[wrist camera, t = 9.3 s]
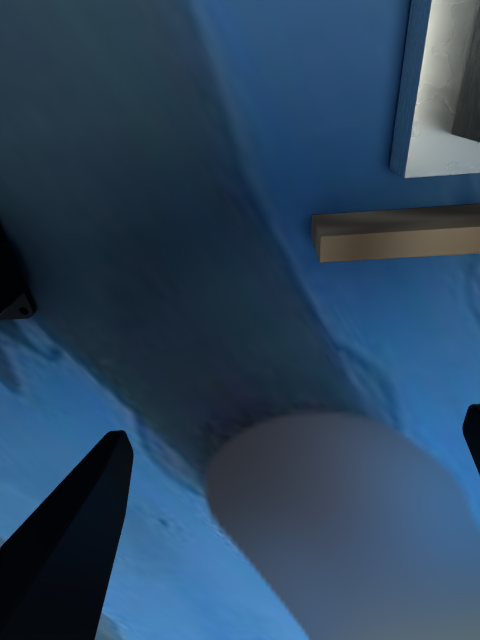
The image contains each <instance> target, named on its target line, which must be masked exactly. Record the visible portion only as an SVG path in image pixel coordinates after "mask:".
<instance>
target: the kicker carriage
mask: <svg viewBox="0 0 480 640" xmlns="http://www.w3.org/2000/svg"><path fill="white" fill-rule="evenodd" d="M389 168H390V169H391V170H393V171H394V172H396V173H397V174H399V175H400V176H402V177H403V178H413V177H427V176H441V175H455V174H469V173H480V0H412V1H411V8H410V16H409V24H408V31H407V39H406V46H405V54H404V61H403V69H402V76H401V84H400V92H399V99H398V107H397V114H396V122H395V129H394V137H393V145H392V152H391V160H390V167H389Z"/></svg>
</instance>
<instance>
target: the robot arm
mask: <svg viewBox="0 0 480 640" xmlns="http://www.w3.org/2000/svg"><path fill="white" fill-rule="evenodd" d="M23 307H24V308H26V309H27V310H28V311H26V310H25V309H24V308H23ZM35 312H36V306H35V304H34V302H33V300H32V297H31V295H30V293H29V290H28V288H27V284H26V282H25V280H24V277H23V275H22V273H21V271H20V268H19V266H18V264H17V261H16V259H15V257H14V255H13V252H12V250H11V248H10V246H9V245H8V242H7V240H6V238H5V235H4V233H3V231H2V229H1V226H0V320H5V319H25V318H30V317H32V316H33V315H34V313H35ZM462 430H463V435H464V438H465V440H466V442H467V445H468V447H469V450H470V452H471V455H472V457H473V460H474V462H475V465H476V467H477V470H478V472H479V475H480V404H472V405H470V406H469V407H468V410H467V413H466V416H465V420H464V423H463V428H462ZM132 465H133V449H132V446H131V444H130V441H129V439H128V437H127V434H126V432H125V431H123V430H119V431H110V432H108V433H107V434H106V435H105V436H104V437H103V438H102V439H101V440H100V441H99V442H98V443H97V444H96V445H95V447H94V448H93V449H92V450H91V451H90V452H89V453H88V454H87V455H86V456H85V457H84V458H83V459H82V461H81V462H80V463H79V464H78V465H77V466H76V467H75V468H74V469H73V470H72V471H71V472H70V473H69V474H68V476H67V477H66V478H65V479H64V480H63V481H62V482H61V483H60V484H59V485H58V486H57V487H56V488H55V489H54V491H53V492H52V493H51V494H50V495H49V496H48V497H47V498H46V499H45V500H44V501H43V502H42V503H41V504H40V506H39V507H38V508H37V509H36V510H35V511H34V512H33V513H32V514H31V515H30V516H29V517H28V518H27V520H26V521H25V522H24V523H23V524H22V525H21V526H20V527H19V528H18V529H17V530H16V531H15V532H14V533H13V535H12V536H11V537H10V538H9V539H8V540H7V541H6V542H5V543H4V544H3V545H2V546H1V548H0V640H95V636H96V632H97V628H98V624H99V620H100V616H101V612H102V608H103V603H104V599H105V595H106V591H107V587H108V583H109V579H110V575H111V571H112V567H113V563H114V559H115V555H116V551H117V547H118V543H119V539H120V535H121V531H122V527H123V523H124V518H125V514H126V508H127V501H128V494H129V486H130V479H131V472H132Z"/></svg>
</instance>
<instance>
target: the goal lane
mask: <svg viewBox="0 0 480 640" xmlns="http://www.w3.org/2000/svg"><path fill="white" fill-rule="evenodd" d="M311 239H312V242H313V245H314V248H315V251H316V253H317V256H318V259H319V262H320V263H321V262H338V261H356V260H373V259H390V258H407V257H424V256H441V255H459V254H476V253H480V204H468V205H453V206H438V207H423V208H408V209H393V210H378V211H363V212H348V213H333V214H318V215H312V221H311Z"/></svg>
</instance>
